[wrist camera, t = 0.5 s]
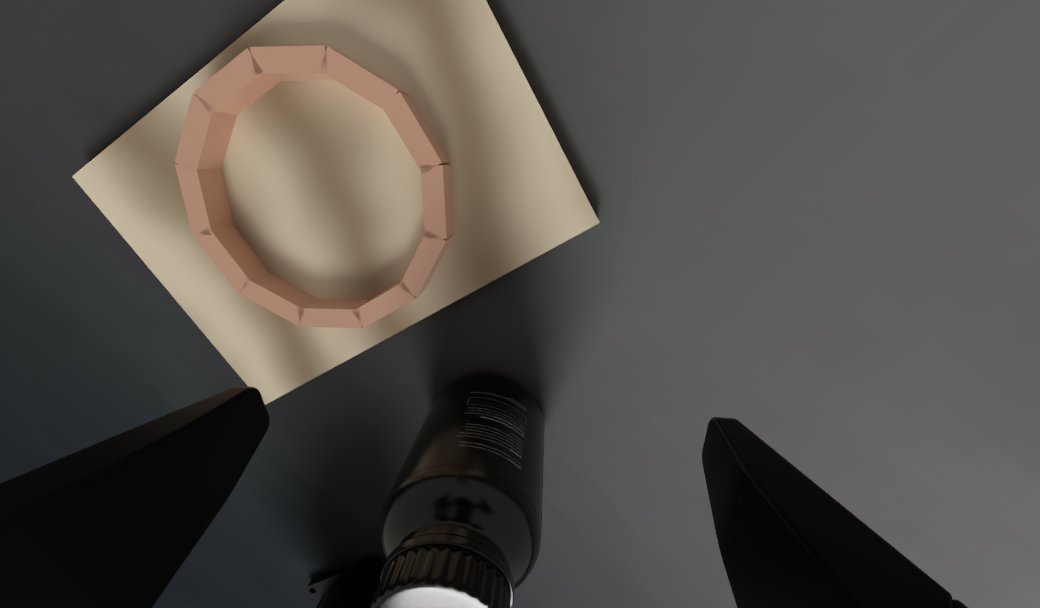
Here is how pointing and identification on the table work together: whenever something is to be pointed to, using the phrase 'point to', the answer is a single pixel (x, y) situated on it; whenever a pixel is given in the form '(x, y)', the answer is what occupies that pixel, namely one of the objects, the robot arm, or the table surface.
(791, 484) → the robot arm
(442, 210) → the ring collar
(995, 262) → the table surface
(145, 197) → the birch board
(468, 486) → the supplement bottle
